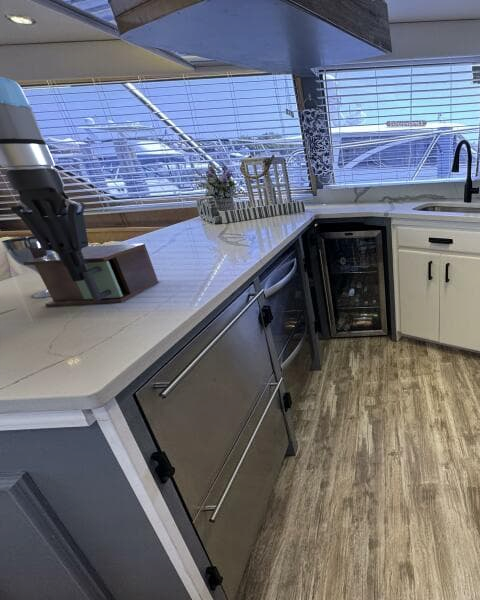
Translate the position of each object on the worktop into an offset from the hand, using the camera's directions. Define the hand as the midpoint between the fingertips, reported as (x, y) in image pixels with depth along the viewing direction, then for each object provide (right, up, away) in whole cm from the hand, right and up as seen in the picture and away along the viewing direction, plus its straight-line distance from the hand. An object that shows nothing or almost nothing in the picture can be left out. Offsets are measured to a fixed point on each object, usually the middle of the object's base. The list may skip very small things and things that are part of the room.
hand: (81, 279), depth 74 cm
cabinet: (-5, -3, +12) cm, 14 cm away
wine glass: (-23, -3, +14) cm, 27 cm away
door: (0, -5, +4) cm, 7 cm away
